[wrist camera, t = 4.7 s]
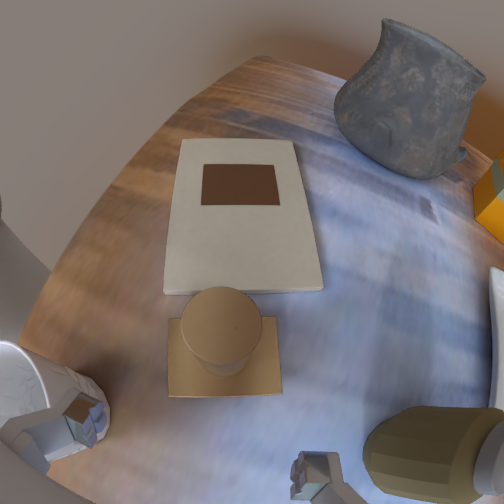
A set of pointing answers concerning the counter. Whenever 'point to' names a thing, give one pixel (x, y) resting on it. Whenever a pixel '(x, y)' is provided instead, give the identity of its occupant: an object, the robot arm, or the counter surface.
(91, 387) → the white cup
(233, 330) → the scrub brush
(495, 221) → the orange juice
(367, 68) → the vessel
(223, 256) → the cream rectangular board
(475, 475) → the squeeze bottle
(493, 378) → the square plate
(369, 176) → the counter surface
